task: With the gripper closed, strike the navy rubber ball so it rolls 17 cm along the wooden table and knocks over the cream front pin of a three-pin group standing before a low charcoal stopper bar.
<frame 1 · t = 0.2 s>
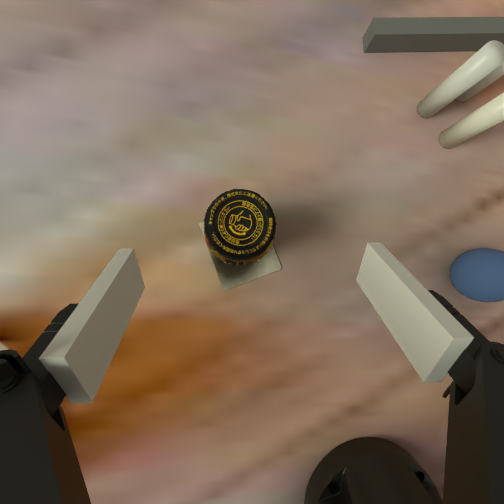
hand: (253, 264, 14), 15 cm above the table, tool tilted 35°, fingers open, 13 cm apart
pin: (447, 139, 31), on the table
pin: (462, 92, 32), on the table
stopper bar: (439, 43, 32), on the table
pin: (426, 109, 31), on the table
condiment: (240, 246, 30), on the table
ball: (483, 274, 28), on the table
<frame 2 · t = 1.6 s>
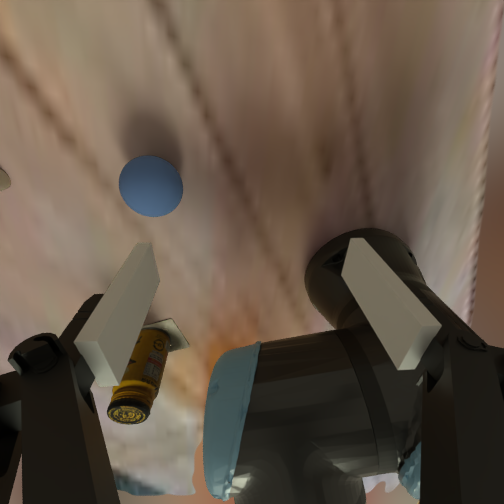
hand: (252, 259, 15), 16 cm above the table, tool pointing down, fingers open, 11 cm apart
condiment: (158, 337, 42), on the table
ball: (152, 187, 25), on the table
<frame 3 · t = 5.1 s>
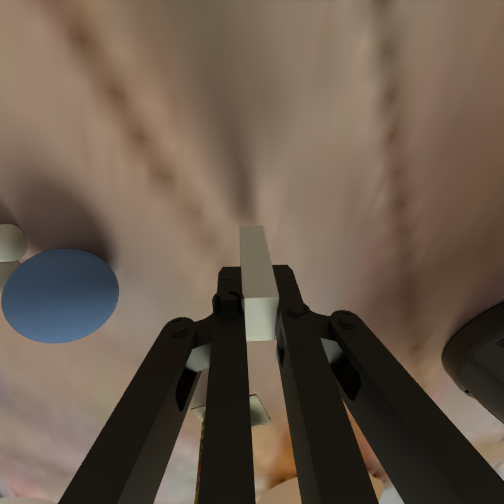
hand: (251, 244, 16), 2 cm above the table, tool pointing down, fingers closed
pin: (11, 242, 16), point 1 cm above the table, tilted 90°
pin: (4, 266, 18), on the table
condiment: (232, 412, 33), on the table
ball: (66, 294, 16), on the table
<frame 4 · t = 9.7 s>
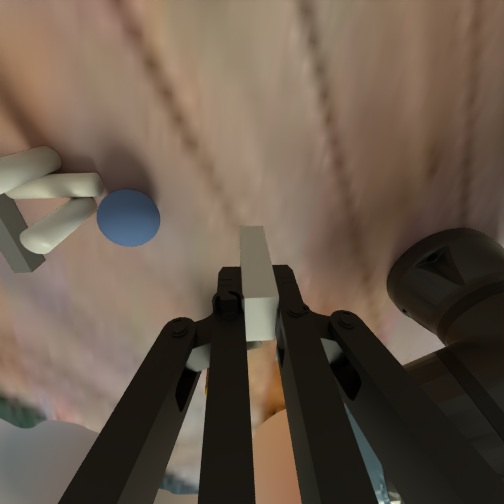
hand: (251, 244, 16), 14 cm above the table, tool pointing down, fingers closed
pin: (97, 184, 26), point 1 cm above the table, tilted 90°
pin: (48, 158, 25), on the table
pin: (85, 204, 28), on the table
ball: (130, 218, 26), on the table
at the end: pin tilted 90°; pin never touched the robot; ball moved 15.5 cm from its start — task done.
